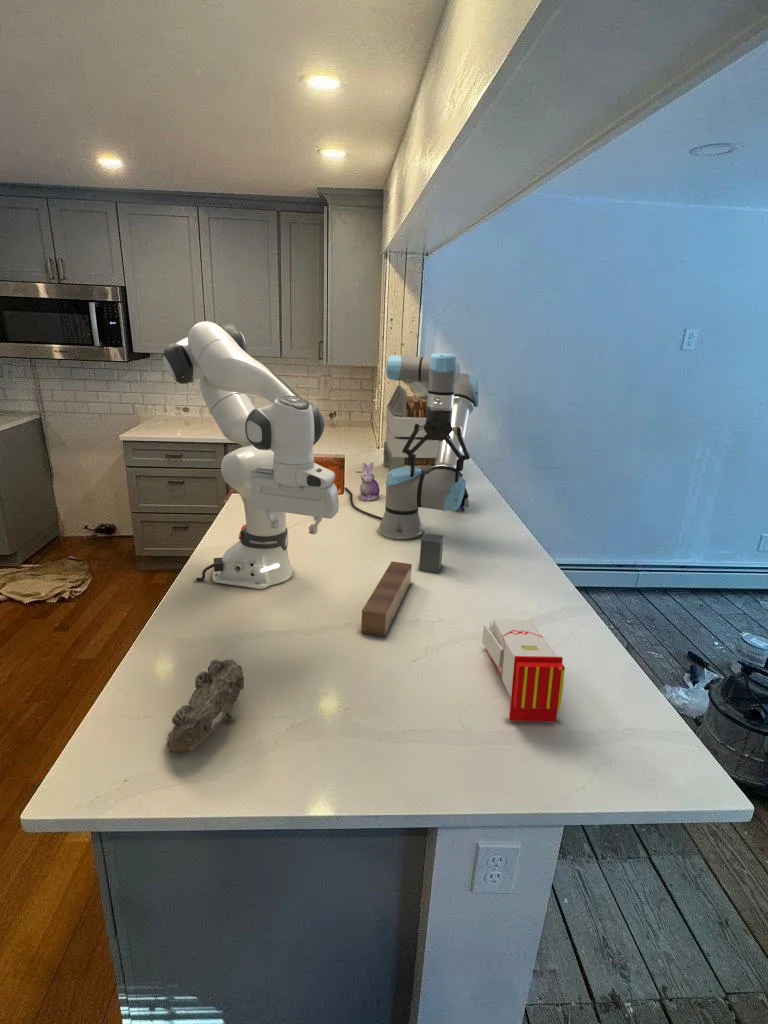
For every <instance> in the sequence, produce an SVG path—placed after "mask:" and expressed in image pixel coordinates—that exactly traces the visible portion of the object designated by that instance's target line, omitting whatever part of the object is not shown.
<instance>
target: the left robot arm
mask: <svg viewBox="0 0 768 1024" xmlns="http://www.w3.org/2000/svg"><path fill="white" fill-rule="evenodd" d="M247 352H248V349H247V343H246V339H245V337H244V334H243V333H242V331H240V329H239V328H238V326H236V325H235V324H233V323H231V322H230V323H229V322H225V323H220V324H217V323H215V322H212V321H209V320H208V321H206V320H205V321H201V322H198V323H196V324H194V325H193V326H192V327H191V328H190V329H189V331H188V334H187V336H186V337H184V338H182V339H180V340H179V341H177V342H172V343H171V344H168V346H167V347H165V348H164V349H163V353H162V357H163V358H162V359H163V366H164V369H165V371H166V372H167V373H168V375H169V376H170V377H171V378H172V379H173V380H174V381H175V383H179V384H181V385H183V384H185V385H186V384H190V383H194V381H196V380H199V383H198V385H199V390H200V392H201V396H202V399H203V400H204V403H205V404H206V405H205V406H207V409H208V411H209V412H210V414H211V416H212V418H213V420H214V422H215V423H216V424H217V427H218V428H219V429H220V432H221V433H222V435H223V436H224V437H225V439H227V440H229V442H233V443H235V444H238V445H240V446H242V447H239V448H236V449H234V450H233V451H230V452H228V453H227V454H225V455H224V456H223V458H222V460H221V464H220V473H221V477H222V478H223V480H224V482H225V483H226V484H227V485H228V486H229V487H230V488H232V489H234V490H235V491H236V492H237V493H238V495H239V496H240V498H241V500H242V502H243V503H242V504H243V506H244V515H245V524H243V525H242V527H241V528H240V531H239V534H238V540H239V541H237V542H236V543H234V544H233V545H231V546H230V547H229V548H227V550H226V551H224V553H223V554H222V557H213V563H212V564H210V565H208V566H207V567H205V568H204V569H203V570H202V573H201V577H196V581H198V582H202V581H204V580H205V578H206V573H207V572H208V571H209V570H210V569H212V568H213V572H212V581H213V582H214V583H216V584H223V585H230V586H235V587H236V586H237V587H242V588H243V587H244V588H250V589H257V590H264V589H266V588H268V587H270V586H274V585H277V584H281V583H284V582H286V581H288V580H289V579H290V578H292V576H293V570H292V566H291V563H290V558H289V553H288V546H289V533H288V528H287V514H294V515H299V516H306V517H307V516H308V517H313V521H314V524H313V523H312V524H310V525H309V526H308V530H309V531H308V534H310V535H316V534H318V532H319V529H318V527H319V525H320V523H321V521H323V519H328V520H329V519H330V520H331V519H333V518H334V517H335V516H336V515H337V514H338V513H339V507H340V506H339V505H340V503H339V492H338V488H337V486H336V484H335V483H334V480H335V479H336V474H335V472H334V471H333V470H331V469H328V468H326V467H324V466H321V465H319V463H316V462H315V455H314V453H313V446H315V445H316V444H317V443H318V442H319V440H320V439H321V438H322V436H323V433H324V430H325V420H324V417H323V414H322V413H321V411H320V409H318V407H316V405H315V404H314V403H312V402H310V401H308V400H307V399H305V398H303V397H301V396H300V395H299V394H298V393H297V392H296V391H295V390H294V389H293V388H292V387H291V386H290V385H289V384H287V382H285V381H284V380H283V379H282V378H281V377H280V376H279V375H278V374H277V373H276V372H275V371H273V370H272V369H271V368H270V367H268V366H267V365H265V364H263V363H261V362H260V361H258V360H256V359H255V358H253V357H252V356H251V355H249V354H248V353H247ZM248 395H255V396H258V397H261V398H264V399H265V400H267V401H268V402H269V403H270V404H269V405H264V406H261V407H257V408H256V407H255V405H254V404H253V403H252V401H251V399H250V398H249V396H248Z"/></svg>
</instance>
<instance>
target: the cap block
mask: <svg viewBox="0 0 768 1024" xmlns="http://www.w3.org/2000/svg"><path fill="white" fill-rule="evenodd" d="M422 535H423V536H422V538H421V540H420V549H419V565H418V571H420V572H421V571H422V572H429V573H436V574H439V573H440V571H441V567H442V563H443V550H444V539H445V536H444V534H443V535H442V534H434V533H426V532H424V534H422Z"/></svg>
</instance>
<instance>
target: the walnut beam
mask: <svg viewBox="0 0 768 1024" xmlns="http://www.w3.org/2000/svg"><path fill="white" fill-rule="evenodd" d="M412 567H413V565H412V563H407V562H399V561H393V560H392V561H391V562H390V563H389V565H388V566H387V568H386V569H385V571H384V574H383V575H382V577H381V578H380V580H379V582H378V583H377V584H376V587H375V588H374V589H373V591H372V593H371V595H370V596H369V598H368V600H367V602H366V603H365V605H364V607H363V608H362V610H361V628H360V629H361V630H360V632H361V633H363V634H365V633H366V634H370V635H375V636H381V637H386V635H387V633H388V631H389V629H390V627H391V625H392V622H393V620H394V619H395V616H396V615H397V612H398V610H399V609H400V605H401V604H402V602H403V599H404V598H405V596H406V593H407V591H408V589H409V587H410V585H411V583H412V580H411V579H412Z"/></svg>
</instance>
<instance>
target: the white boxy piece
mask: <svg viewBox="0 0 768 1024" xmlns="http://www.w3.org/2000/svg"><path fill="white" fill-rule="evenodd" d="M407 394H408V393H407V390H406V389H404V388H403V387H402V385H399V384H398V385H397V386H396V388H395V390H394V392H393V394H392V395H391V398H390V400H389V402H388V404H387V405H386V413H385V414H386V415H385V423H386V428H385V438H384V442H383V466H384V467H388V468H389V472H390V471H391V470H393V469H396V468H401V467H405V466H406V467H409V466H408V455H407V454H406V453H403V452H402V450H403V448H404V447H405V445H406V443H407V442H408V440H409V438H410V436H411V435H412V433H413V431H414V427H415V424H416V423H418V422H419V423H420V424H424V425H425V423H426V411H427V409H428V408H429V407H428V406H427V401H425V400H423V399H421V398H419V397H417V396H416V395H414V396H413V395H412V396H411V395H407ZM426 434H427V433H426V432H425V430H424V428H423V429H422V430H421V431H419V432H418V434H417V435H416V437H415V439H414V440H413V442H412V444H411V446H410V447H409V450H411V449H412V448H413V447H414V446H415V445H416V444H417V443H418V442H419V441H420V440H421V439H422V438H423V437H424V436H425V435H426ZM438 446H439V441H438V440H431V439H430V438H428V439H427V440H426V441H425V442H424V443H423V444H422V445H421V446H420V447H419V448H418V449H417V450H416V451H415V452H414V453H413V454H415V455H416V458H415V467H417V466H418V467H433V466H435V462H436V456H437V451H438Z"/></svg>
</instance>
